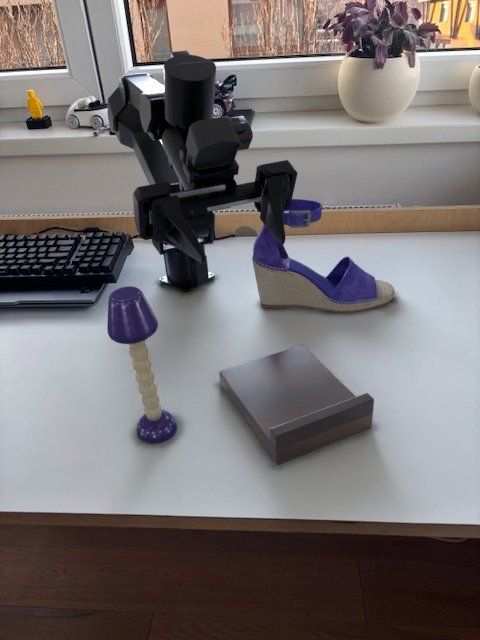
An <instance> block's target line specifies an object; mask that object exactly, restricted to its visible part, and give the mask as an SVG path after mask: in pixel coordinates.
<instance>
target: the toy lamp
mask: <svg viewBox="0 0 480 640" xmlns="http://www.w3.org/2000/svg"><path fill="white" fill-rule="evenodd" d="M158 327H159V321H158V319H157V316H156V314H155V313H154V311H153V309H152V307H151V305H150V303H149V302H148V300H147V298H146V296H145V294H144V293H143V291H142V290H141V289H140V288H138V287H136V286H131V285H128V286H122V287H120V288H116V289H115V290H113V291H111V293H110V294H109V296H108V301H107V335H108V337H109V338H110V340H112V341H114V342H115V343H117V344H121V345H128V346H129V347H128V348H129V350H128V352H129V355H130V357H131V359H132V367H133V370H134V371H135V380H136V382H137V384H138V392H139V394H140V395H141V404H142V405H143V407H144V414H143V415H142V416H140V418H139V420H138V422H137V425H136V435H137V437H138V439H139V440H140V441H141V442H144V443H146V444H153V445H154V444H161V443H163V442H166V441H168V440H170V439H172V437H173V436H174V435H175V434H176V432H177V430H178V422H177V420H176V418H175V417H174V416H173V414H172V413H170V412H169V411H167V410H165V409H163V408H162V406H161V404H160V395H159V394H158V387H157V383H156V381H155V372H154V371H153V369H152V361H151V358H150V356H149V353H150V352H149V346H148V345H147V343H146V341H147V340H148V339H149V338H151V337H152V336H153V335H155V334H156V332H157V330H158Z"/></svg>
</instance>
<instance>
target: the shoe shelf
mask: <svg viewBox="0 0 480 640" xmlns="http://www.w3.org/2000/svg"><path fill="white" fill-rule="evenodd" d="M218 374H219V384H220V387H221V388H222V389H223V391H224V392H225V393H226V395H227V396H228V398H229V399H230V400H231V403H233V405H234V406H235V408H236V409H237V411H238V412H239V413H240V415H241V416H242V418H243V419H244V421H245V423H247V425H248V426H249V428H250V429H251V430H252V432H253V433H254V435H255V436H256V438H257V439H258V441H259V442H260V443H261V445H262V446H263V448H264V449H265V451H266V452H267V453H268V455H269V456H270V458H271V459H272V461H273V462H274V464H275V465H276V466H279V465H281V464H284V463H286V462H288V461H291V460H294V459H297V458H298V457H301V456H303V455H306V454H308V453H311V452H313V451H316V450H318V449H321V448H324V447H326V446H329V445H331V444H334V443H336V442H339V441H341V440H344V439H347V438H349V437H351V436H353V435H357V434H358V433H362V432H363V431H366V430H369V429H371V428H372V426H373V415H374V405H375V404H374V403H375V398H374V397H373V396H371V394H370V393H368V392H364V393H363V394H360V395H357V396H356V395H355V394H354V393H353V392H352V391H351V390H350V389H349V388H348V387H347V386H346V385H345V384H344V383H343V382H342V381H341V380H339V378H338V377H336V375H335V374H333V372H332V371H330V370H329V369H328V367H326V366H325V364H324V363H322V362H321V361H320V360H319V359H318V358H317V357H316V356H315V355H314V354H313V353H312V352H311V351H310V350H309V349H308V348H307V347H306V346H305V345H304V344H300V345H297V346H294V347H290V348H288V349H285V350H282V351H279V352H275V353H273V354H269V355H266V356H263V357H259V358H257V359H254V360H250V361H247V362H245V363H241V364H239V365H235V366H232V367H229V368H225V369H223V370H220V371H218Z"/></svg>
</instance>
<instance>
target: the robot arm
mask: <svg viewBox="0 0 480 640" xmlns="http://www.w3.org/2000/svg"><path fill="white" fill-rule="evenodd" d="M216 77H217V66H216V63H215V62H214V61H213V60H210V59H208V58H206V57H204V56H200V55H196V54H190V52H189V51H188V50H187V49H186V50H185V49H184V50H177V51H171V52H170V58H168V59H167V60H166V61H165V62H164V64H163V84H162V83H160V82H159V81H157V79H155V78H154V75H153V74H152V73H148V72H138V73H129V74H123V75H122V76H120V77H118V86H117V88H116V89H115V90H114V91H113V92H112V93H111V94H110V96H109V97H108V98H107V113H106V114H107V120H108V124H109V129H110V132H111V133H114V134H115V136H116V138H117V140H118V142H119V144H121V145H123V146H125V147H128V148H129V149H132V150H133V152H134V154H135V156H136V158H137V161H138V163H139V165H140V167H141V170H142V172H143V174H144V176H145V179H146V181H147V182H148V184H147V185H140V186H138V187H136V188H135V189H134V191H133V193H132V203H133V215H134V223H135V227H136V230H137V233H138V235H139V238H140V239H142V240H144V241H149V240H151V243H152V245H153V247H154V248H155V250H156V251H157V253H158V255H160V256H162V255H163V261H164V269H165V275H163V276H161V277H159V278H158V280H159V283H162V284H163V285H166V286H168V287H171V288H172V289H176V290H178V291H180V292H183V293H189V292H192V291H193V290H194V289H197V288H198V287H201V286H202V285H203V284H205V283H207V282H209V281H211V280H213V279H215V277H216V274H215V273H213V272H210V271H209V265H208V257H207V255H206V248H205V247H206V246H205V245H211V244H214V239H215V227H216V226H215V224H216V214H215V211H221V210H226V209H230V208H233V207H236V206H241V205H247V204H251V203H254V208H255V209H256V211H257V212H258V213H260V215H259V220H260V221H261V222H262V224H264V225H265V226H266V227H267V229H268V230H269V232H270V233H271V234H272V236H273V237H274V238H275V240H276V241H277V242H278V243H280V244H281V245H285V243H286V237H287V236H286V230H285V225H284V222H283V213H284V212H287V211H286V210H287V209H288V208H289V207H290V205H291V201H292V199H293V196H294V192H295V188H296V182H297V178H298V171H297V169H296V168H295V167H294V165H293V164H292V163H291V162H290V161H289V160H288V159H285V160H279V161H274V162H268V163H263V164H259V165H257V166H256V169H255V176H254V181H250V182H245V183H240V184H239V183H237V181H236V179H235V176H238V175H239V171H240V165H239V163H238V162H237V160H236V157H237V154H238V152H239V151H244V150H249V148H250V146H251V143H252V141H253V138H254V133H253V130H252V127H251V125H250V122H248V120H247V119H246V118H245V116H243V115H239V116H234V117H233V116H232V117H230V116H220V117H214V111H215V109H214V107H215V93H216V80H217V79H216Z"/></svg>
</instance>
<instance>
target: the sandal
mask: <svg viewBox="0 0 480 640" xmlns="http://www.w3.org/2000/svg"><path fill="white" fill-rule="evenodd" d="M322 212H323V205H322V203H320V202H319V201H316V200H312V199H306V198H305V199H302V198H292V201H291V205H290V207H289V208H288V209H287V210H286V211H284V213H283V222H284V226H288V227H289V228H290V229H302V228H303V229H305V228H309V227H310V225H311V224H314V223H316V222H318V221H320V220H321V219H322V214H323V213H322ZM252 248H253V249H252V256H251V258H252V259H251V260H252V267H253V272H254V276H255V281H256V286H257V292H258V297H259V301H260V306H261V307H262V308H265V309H282V310H283V309H284V308H285V307H288V308H289V307H291V308H292V307H293V308H304V309H314V310H320V311H325V312H331V313H357V312H363V311H368V310H369V311H370V310H372V309H376V308H379V307H382V306H385V305H386V304H389V303H390V302H391V301H392V300H393V299H394V296H395V287H394V286H393V284H391V283H390V282H388V281H384V280H379V279H378V280H377V279H376V277H375V276H374V275H372V274H370V273H368V272H367V271H366V270H364V269H363V268H362V267H360V266H359V265H358V264H357V263H355V262H354V261H353V259H352V257H350V256H349V255H348V256H345V257H343V258H342V259H340V260H339V261H338V263H337V264H335V266H334V267H333V268H332V269H331V271H330V272H329V273H328V274H327V275H326V276H324V275H322V274H320V273H319V272H317V271H315V270H314V269H312V268H311V267H309V266H308V265H306V264H304V263H302V262H300V261H299V260H296V259H293V258H292V257H290V256H289V254H288V252H287V250H286V248H285V244H283V245H281V244H280V243H278V242H277V241H276V240H275V238H274V237H273V236H272V234H271V233H270V232H269V230H268V229H267V227H266V226H265V225H264V223H262V227H261V228H260V231H259V233H258V234H257V236H256V239H255V240H254V242H253V246H252Z"/></svg>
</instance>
